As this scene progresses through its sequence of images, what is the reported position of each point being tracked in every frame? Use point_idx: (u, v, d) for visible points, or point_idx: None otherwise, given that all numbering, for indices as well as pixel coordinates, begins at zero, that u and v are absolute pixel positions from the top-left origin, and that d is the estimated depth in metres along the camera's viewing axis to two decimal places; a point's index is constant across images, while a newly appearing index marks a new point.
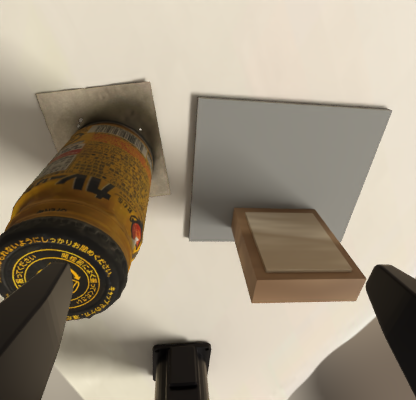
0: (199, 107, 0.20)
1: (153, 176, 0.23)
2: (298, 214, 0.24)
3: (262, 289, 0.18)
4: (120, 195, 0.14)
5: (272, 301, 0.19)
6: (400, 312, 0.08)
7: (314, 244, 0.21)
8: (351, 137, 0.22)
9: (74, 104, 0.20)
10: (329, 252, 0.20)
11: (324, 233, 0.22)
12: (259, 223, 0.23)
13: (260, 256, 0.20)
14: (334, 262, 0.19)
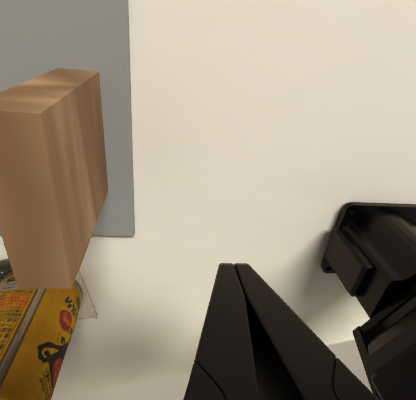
0: None
1: None
2: None
3: (37, 280, 0.12)
4: None
5: (64, 263, 0.11)
6: None
7: None
8: None
9: None
10: None
11: None
12: None
13: None
14: None
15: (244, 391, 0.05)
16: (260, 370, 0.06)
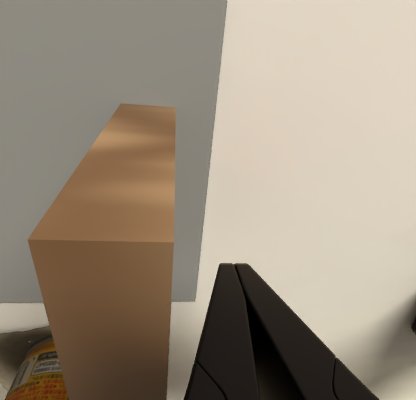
0: None
1: None
2: None
3: None
4: None
5: None
6: None
7: None
8: None
9: None
10: None
11: None
12: None
13: None
14: None
15: (244, 391, 0.05)
16: (260, 370, 0.06)
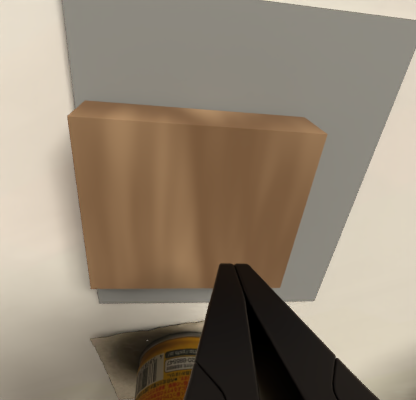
0: (110, 301, 0.16)
1: None
2: None
3: None
4: None
5: (88, 262, 0.12)
6: None
7: None
8: (135, 69, 0.10)
9: (124, 381, 0.20)
10: None
11: None
12: None
13: None
14: None
15: (244, 391, 0.05)
16: (260, 370, 0.06)
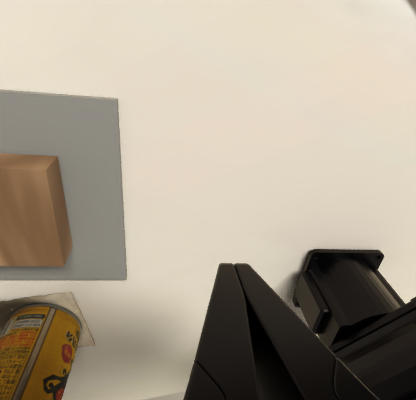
0: None
1: (54, 303, 0.25)
2: None
3: None
4: None
5: None
6: None
7: None
8: None
9: None
10: None
11: None
12: None
13: None
14: None
15: (244, 391, 0.05)
16: (260, 370, 0.06)
